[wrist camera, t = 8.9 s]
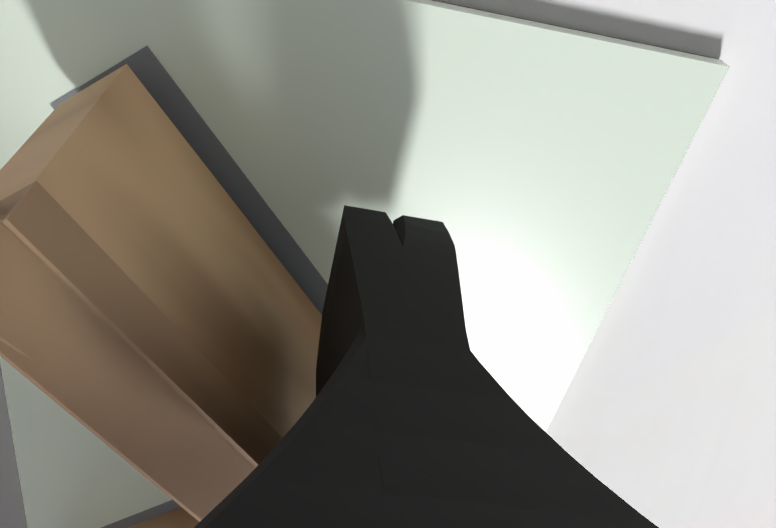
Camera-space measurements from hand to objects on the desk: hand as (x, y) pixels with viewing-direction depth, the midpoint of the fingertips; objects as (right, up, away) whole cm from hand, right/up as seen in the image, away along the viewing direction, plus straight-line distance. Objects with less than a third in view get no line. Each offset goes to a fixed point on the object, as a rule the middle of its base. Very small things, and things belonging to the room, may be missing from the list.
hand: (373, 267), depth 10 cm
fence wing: (-2, 0, +1) cm, 2 cm away
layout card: (-2, -2, +4) cm, 5 cm away
